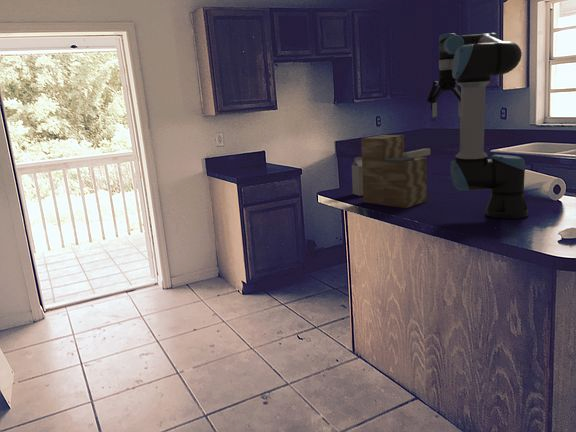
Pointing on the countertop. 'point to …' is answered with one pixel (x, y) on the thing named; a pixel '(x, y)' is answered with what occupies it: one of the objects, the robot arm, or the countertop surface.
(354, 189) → the milk carton
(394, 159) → the turner
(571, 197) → the countertop surface
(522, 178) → the robot arm
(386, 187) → the oak step block
